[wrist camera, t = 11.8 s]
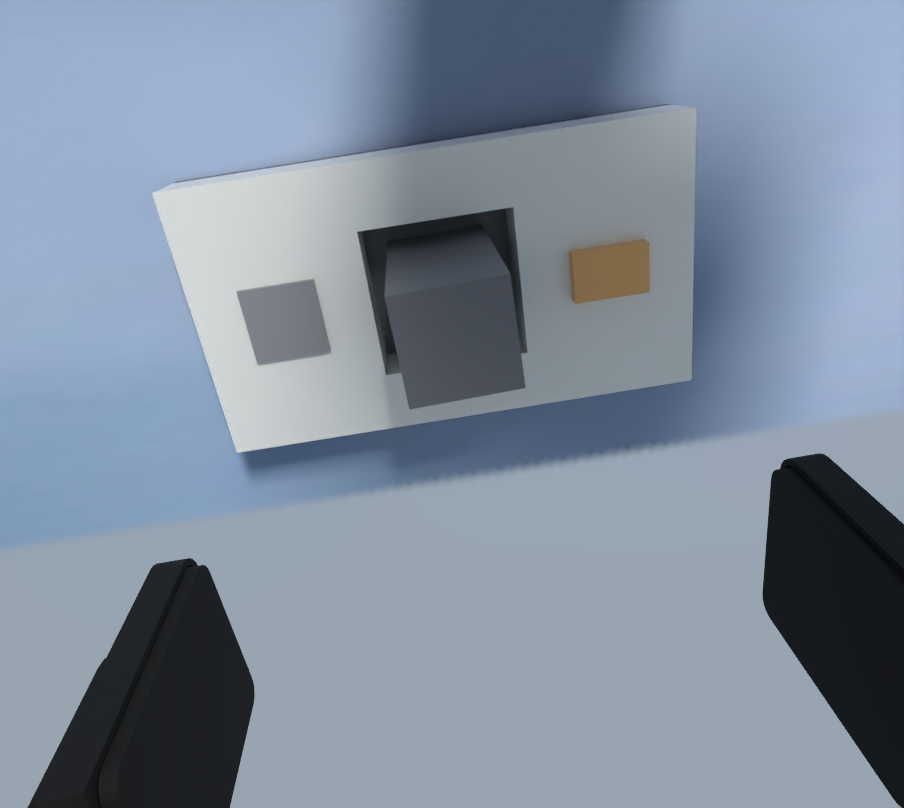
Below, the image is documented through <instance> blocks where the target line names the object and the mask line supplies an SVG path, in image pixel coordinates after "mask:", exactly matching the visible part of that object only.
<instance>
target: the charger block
mask: <svg viewBox="0 0 904 808" xmlns="http://www.w3.org/2000/svg"><path fill="white" fill-rule="evenodd" d="M384 297H385V302H386V306H387V311H388V315H389V320H390V324H391V329H392V333H393V338H394V342H395V347H396V351H397V356H398V360H399V365H400V369H401V374H402V378H403V383H404V387H405V392H406V396H407V401H408V406H409V410H410V409H415V408H421V407H426V406H432V405H437V404H442V403H448V402H453V401H458V400H464V399H469V398H475V397H480V396H485V395H491V394H496V393H502V392H507V391H512V390H518V389H523V388H526V387H525V379H524V372H523V364H522V357H521V349H520V342H519V334H518V327H517V319H516V312H515V304H514V297H513V289H512V282H511V274H510V272H509V270H508V269H507V267H506V265H505V263H504V262H503V260H502V258H501V257H500V255H499V253H498V251H497V250H496V248H495V246H494V245H493V243H492V241H491V239H490V238H489V236H488V234H487V232H486V231H485V229H484V227H483V226H482V224H479V225H474V226H468V227H463V228H458V229H452V230H447V231H442V232H436V233H431V234H426V235H420V236H415V237H410V238H404V239H399V240H394V241H388V246H387V262H386V279H385V296H384Z"/></svg>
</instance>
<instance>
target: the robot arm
mask: <svg viewBox="0 0 904 808" xmlns="http://www.w3.org/2000/svg"><path fill="white" fill-rule="evenodd" d="M763 602H764V606H765V609H766V611H767V613H768V615H769V617H770V619H771V620H772V622H773V623H774V625H775V626H776V628H777V629H778V630H779V632H780V634H781V635H782V636H783V638H784V639H785V641H786V642H787V644H788V645H789V647H790V648H791V650H792V651H793V653H794V654H795V655H796V657H797V658H798V660H799V661H800V663H801V664H802V666H803V667H804V669H805V670H806V671H807V673H808V674H809V676H810V677H811V679H812V680H813V682H814V683H815V685H816V686H817V687H818V689H819V691H820V692H821V694H822V695H823V696H824V698H825V699H826V701H827V702H828V704H829V705H830V707H831V708H832V709H833V711H834V713H835V714H836V716H837V717H838V718H839V720H840V721H841V723H842V724H843V726H844V727H845V729H846V730H847V732H848V733H849V734H850V736H851V737H852V739H853V740H854V742H855V743H856V745H857V746H858V748H859V749H860V751H861V752H862V754H863V755H864V757H865V758H866V759H867V761H868V762H869V764H870V765H871V767H872V768H873V770H874V771H875V773H876V774H877V775H878V777H879V778H880V780H881V781H882V783H883V784H884V786H885V787H886V789H887V790H888V791H889V793H890V794H891V796H892V797H893V799H894V800H895V801H896V803H897V804H898V805H900V806H901V807H902V808H904V524H903V523H902V522H901V521H899V520H898V519H897V518H896V517H895V516H894V515H893V514H891V513H890V512H889V511H888V510H887V509H886V508H885V507H884V506H883V505H881V504H880V503H879V502H878V501H877V500H876V499H875V498H874V497H872V496H871V495H870V494H869V493H868V492H867V491H866V490H865V489H863V488H862V487H861V486H860V485H859V484H858V483H857V482H856V481H855V480H853V479H852V478H851V477H850V476H849V475H848V474H847V473H846V472H844V471H843V470H842V469H841V468H840V467H839V466H838V465H836V464H835V463H834V462H833V461H832V460H831V459H830V458H829V457H827V456H826V455H824V454H814V455H808V456H802V457H796V458H790V459H786V460H784V461H783V463H782V464H781V468H780V469H778V470H775V471H774V472H773V474H772V478H771V489H770V502H769V516H768V529H767V542H766V555H765V569H764V582H763ZM253 703H254V684H253V680H252V677H251V675H250V672H249V669H248V667H247V664H246V662H245V659H244V657H243V655H242V652H241V649H240V647H239V644H238V642H237V639H236V637H235V634H234V632H233V629H232V627H231V624H230V622H229V619H228V617H227V614H226V612H225V609H224V607H223V604H222V602H221V599H220V597H219V594H218V592H217V589H216V587H215V584H214V582H213V579H212V577H211V574H210V572H209V570H208V568H207V567H206V566H204V565H201V566H198V565H197V563H196V562H195V561H194V560H193V559H190V558H189V559H182V560H177V561H170V562H165V563H159V564H156V565H154V566H153V567H152V568H151V570H150V572H149V574H148V576H147V578H146V580H145V582H144V584H143V586H142V588H141V590H140V592H139V594H138V596H137V598H136V600H135V602H134V604H133V606H132V608H131V610H130V612H129V614H128V616H127V618H126V620H125V622H124V624H123V626H122V628H121V630H120V632H119V634H118V636H117V638H116V640H115V642H114V644H113V646H112V648H111V650H110V652H109V654H108V656H107V658H105V659H104V660H103V662H102V663H101V665H100V666H99V668H98V669H97V671H96V673H95V675H94V677H93V679H92V681H91V683H90V685H89V687H88V689H87V691H86V693H85V695H84V697H83V699H82V701H81V703H80V705H79V707H78V709H77V711H76V713H75V715H74V717H73V719H72V721H71V723H70V725H69V727H68V729H67V731H66V733H65V735H64V737H63V739H62V741H61V743H60V745H59V747H58V749H57V751H56V753H55V755H54V757H53V759H52V760H51V762H50V764H49V766H48V769H47V770H46V772H45V774H44V777H43V778H42V781H41V782H40V784H39V786H38V788H37V791H36V792H35V794H34V796H33V798H32V800H31V802H30V804H29V806H28V808H230V803H231V799H232V795H233V791H234V786H235V782H236V778H237V773H238V769H239V765H240V760H241V756H242V751H243V747H244V743H245V738H246V734H247V730H248V725H249V721H250V717H251V712H252V708H253Z"/></svg>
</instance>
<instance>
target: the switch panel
mask: <svg viewBox="0 0 904 808" xmlns="http://www.w3.org/2000/svg"><path fill="white" fill-rule="evenodd" d="M696 114H697V107H691V106H680V105H669V104H665V105H659V106H653V107H646V108H640V109H634V110H627V111H621V112H615V113H608V114H602V115H596V116H589V117H583V118H577V119H571V120H564V121H558V122H552V123H545V124H539V125H533V126H526V127H520V128H514V129H507V130H501V131H495V132H488V133H482V134H476V135H469V136H463V137H457V138H450V139H444V140H438V141H431V142H425V143H419V144H412V145H406V146H400V147H393V148H387V149H381V150H374V151H368V152H362V153H355V154H349V155H343V156H336V157H330V158H324V159H317V160H311V161H305V162H298V163H292V164H286V165H279V166H273V167H267V168H260V169H254V170H248V171H241V172H235V173H229V174H222V175H216V176H210V177H203V178H197V179H191V180H184V181H178V182H175V183H173V184H171V185H168V186H166V187H164V188H162V189H160V190H158V191H155V192H153V193H152V194H153V197H154V201H155V204H156V207H157V210H158V213H159V216H160V219H161V222H162V225H163V228H164V231H165V234H166V237H167V240H168V243H169V246H170V249H171V252H172V256H173V259H174V262H175V265H176V268H177V271H178V274H179V277H180V280H181V283H182V286H183V289H184V292H185V295H186V298H187V301H188V304H189V307H190V311H191V314H192V317H193V320H194V323H195V326H196V329H197V332H198V335H199V338H200V341H201V344H202V347H203V350H204V353H205V356H206V359H207V363H208V366H209V369H210V372H211V375H212V378H213V381H214V384H215V387H216V390H217V393H218V396H219V399H220V402H221V405H222V408H223V411H224V414H225V418H226V421H227V424H228V427H229V430H230V433H231V436H232V439H233V442H234V445H235V448H236V451H237V453H240V452H246V451H252V450H259V449H265V448H271V447H278V446H284V445H290V444H296V443H303V442H309V441H315V440H321V439H328V438H334V437H340V436H346V435H353V434H359V433H365V432H371V431H378V430H384V429H390V428H396V427H403V426H409V425H415V424H422V423H428V422H434V421H440V420H447V419H453V418H459V417H465V416H472V415H478V414H484V413H490V412H497V411H503V410H509V409H515V408H522V407H528V406H534V405H540V404H547V403H553V402H559V401H566V400H572V399H578V398H584V397H591V396H597V395H603V394H609V393H616V392H622V391H628V390H634V389H641V388H647V387H653V386H659V385H666V384H672V383H678V382H684V381H691V380H692V334H693V279H694V224H695V169H696ZM479 224H482V226H483V227H484V229H485V231H486V232H487V234H488V236H489V238H490V239H491V241H492V243H493V245H494V246H495V248H496V250H497V251H498V253H499V255H500V257H501V258H502V260H503V262H504V263H505V265H506V267H507V269H508V270H509V272H510V274H511V282H512V289H513V297H514V304H515V312H516V319H517V327H518V334H519V342H520V349H521V357H522V364H523V372H524V379H525V387H526V388H523V389H518V390H512V391H507V392H502V393H496V394H491V395H485V396H480V397H475V398H469V399H464V400H458V401H453V402H448V403H442V404H437V405H432V406H426V407H421V408H415V409H410V410H409V406H408V401H407V396H406V392H405V387H404V383H403V378H402V374H401V369H400V365H399V360H398V356H397V351H396V347H395V342H394V338H393V333H392V329H391V324H390V320H389V315H388V311H387V306H386V302H385V297H384V296H385V279H386V262H387V246H388V241H394V240H399V239H404V238H410V237H415V236H420V235H426V234H431V233H436V232H442V231H447V230H452V229H458V228H463V227H468V226H474V225H479Z"/></svg>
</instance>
